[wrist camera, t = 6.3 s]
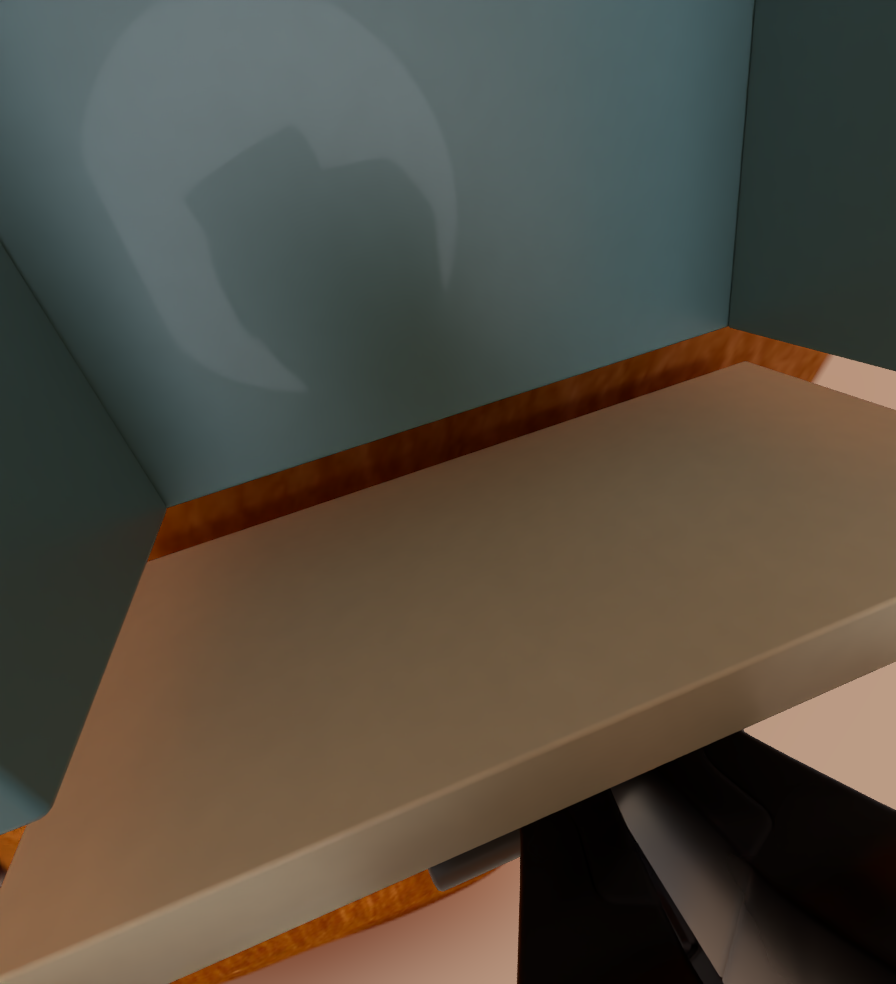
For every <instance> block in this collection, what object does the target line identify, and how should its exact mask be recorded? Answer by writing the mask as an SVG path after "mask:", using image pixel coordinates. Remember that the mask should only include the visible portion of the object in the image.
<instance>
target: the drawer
mask: <svg viewBox="0 0 896 984" xmlns="http://www.w3.org/2000/svg"><path fill="white" fill-rule="evenodd" d="M727 326H729V327H730V328H733V329H737V330H741V331H745V332H749V333H752V334H756V335H760V336H764V337H768V338H771V339H775V340H779V341H783V342H787V343H790V344H794V345H798V346H802V347H806V348H809V349H813V350H817V351H821V352H825V353H828V354H832V355H836V356H840V357H844V358H847V359H851V360H855V361H859V362H863V363H867V364H870V365H874V366H878V367H882V368H885V369H889V370H893V371H896V0H0V835H1V834H4V833H6V832H9V831H12V830H14V829H17V828H19V827H22V826H24V825H27V826H26V828H25V831H24V833H23V835H22V838H21V840H20V843H19V845H18V847H17V850H16V852H15V855H14V857H13V859H12V862H11V864H10V867H9V869H8V871H7V874H6V876H5V879H4V881H3V884H2V886H1V888H0V984H169V983H171V982H173V981H175V980H178V979H180V978H182V977H184V976H187V975H189V974H191V973H193V972H196V971H198V970H200V969H202V968H205V967H207V966H209V965H212V964H214V963H216V962H218V961H221V960H223V959H225V958H227V957H230V956H232V955H234V954H236V953H239V952H241V951H243V950H245V949H248V948H250V947H252V946H254V945H257V944H259V943H261V942H263V941H266V940H268V939H270V938H272V937H275V936H277V935H279V934H281V933H284V932H286V931H288V930H291V929H293V928H295V927H297V926H300V925H302V924H304V923H306V922H309V921H311V920H313V919H315V918H318V917H320V916H322V915H324V914H327V913H329V912H331V911H333V910H336V909H338V908H340V907H342V906H345V905H347V904H349V903H351V902H354V901H356V900H358V899H361V898H363V897H365V896H367V895H370V894H372V893H374V892H376V891H379V890H381V889H383V888H385V887H388V886H390V885H392V884H394V883H397V882H399V881H401V880H403V879H406V878H408V877H410V876H412V875H415V874H417V873H419V872H421V871H424V870H426V869H428V870H429V873H430V876H431V878H432V880H433V883H434V884H435V886H436V888H437V889H438V890H439V891H445V890H447V889H450V888H452V887H454V886H456V885H459V884H461V883H463V882H465V881H467V880H470V879H472V878H474V877H476V876H478V875H481V874H483V873H485V872H487V871H490V870H492V869H494V868H496V867H498V866H501V865H503V864H505V863H507V862H510V861H512V860H514V859H516V858H518V857H520V829H519V828H521V827H523V826H525V825H528V824H530V823H532V822H534V821H537V820H539V819H541V818H543V817H546V816H548V815H550V814H552V813H555V812H557V811H559V810H561V809H564V808H566V807H568V806H570V805H573V804H575V803H577V802H579V801H582V800H584V799H586V798H589V797H591V796H593V795H595V794H598V793H600V792H602V791H604V790H607V789H609V788H611V787H613V786H616V785H618V784H620V783H622V782H625V781H627V780H629V779H631V778H634V777H636V776H638V775H640V774H643V773H645V772H647V771H649V770H652V769H654V768H656V767H659V766H661V765H663V764H665V763H668V762H670V761H672V760H674V759H677V758H679V757H681V756H683V755H686V754H688V753H690V752H692V751H695V750H697V749H699V748H701V747H704V746H706V745H708V744H710V743H713V742H715V741H717V740H719V739H722V738H724V737H726V736H728V735H731V734H733V733H735V732H738V731H740V730H742V731H744V730H743V729H744V728H746V727H749V726H751V725H753V724H755V723H758V722H760V721H762V720H765V719H767V718H769V717H771V716H774V715H776V714H778V713H780V712H783V711H785V710H787V709H789V708H792V707H794V706H796V705H798V704H801V703H803V702H805V701H807V700H810V699H812V698H814V697H816V696H819V695H821V694H823V693H825V692H828V691H830V690H832V689H834V688H837V687H839V686H841V685H844V684H846V683H848V682H850V681H853V680H855V679H857V678H859V677H862V676H864V675H866V674H868V673H871V672H873V671H875V670H877V669H880V668H882V667H884V666H887V665H889V664H891V663H893V662H896V410H894V409H891V408H887V407H884V406H881V405H878V404H875V403H872V402H869V401H866V400H863V399H859V398H857V397H853V396H851V395H847V394H845V393H842V392H838V391H835V390H832V389H829V388H826V387H823V386H820V385H817V384H814V383H811V382H808V381H805V380H802V379H799V378H796V377H793V376H790V375H786V374H783V373H780V372H777V371H774V370H771V369H768V368H765V367H762V366H759V365H756V364H753V363H750V362H746V361H745V362H741V363H738V364H735V365H732V366H729V367H726V368H723V369H720V370H717V371H714V372H711V373H708V374H705V375H702V376H699V377H696V378H694V379H691V380H688V381H685V382H682V383H679V384H676V385H673V386H670V387H667V388H664V389H661V390H658V391H655V392H652V393H649V394H646V395H643V396H640V397H637V398H634V399H631V400H628V401H625V402H622V403H619V404H616V405H613V406H610V407H607V408H604V409H601V410H598V411H595V412H592V413H589V414H586V415H583V416H580V417H577V418H574V419H571V420H568V421H565V422H562V423H559V424H557V425H554V426H551V427H548V428H545V429H542V430H539V431H536V432H533V433H530V434H527V435H524V436H521V437H518V438H515V439H512V440H509V441H506V442H503V443H500V444H497V445H494V446H491V447H488V448H485V449H482V450H479V451H476V452H473V453H470V454H467V455H464V456H461V457H458V458H455V459H452V460H449V461H446V462H443V463H440V464H437V465H434V466H431V467H428V468H425V469H422V470H420V471H417V472H414V473H411V474H408V475H405V476H402V477H399V478H396V479H393V480H390V481H387V482H384V483H381V484H378V485H375V486H372V487H369V488H366V489H363V490H360V491H357V492H354V493H351V494H348V495H345V496H342V497H339V498H336V499H333V500H330V501H327V502H324V503H321V504H318V505H315V506H312V507H309V508H306V509H303V510H300V511H297V512H294V513H291V514H288V515H285V516H283V517H280V518H277V519H274V520H271V521H268V522H265V523H262V524H259V525H256V526H253V527H250V528H247V529H244V530H241V531H238V532H235V533H232V534H229V535H226V536H223V537H220V538H217V539H214V540H211V541H208V542H205V543H202V544H199V545H196V546H193V547H190V548H187V549H184V550H181V551H178V552H175V553H172V554H169V555H166V556H163V557H160V558H157V559H154V560H151V561H148V562H147V560H148V558H149V555H150V552H151V550H152V547H153V545H154V542H155V539H156V537H157V534H158V532H159V529H160V526H161V524H162V521H163V519H164V516H165V513H166V508H169V507H172V506H175V505H178V504H181V503H184V502H187V501H190V500H193V499H196V498H199V497H202V496H206V495H209V494H212V493H215V492H218V491H221V490H224V489H227V488H230V487H233V486H236V485H240V484H243V483H246V482H249V481H252V480H255V479H258V478H261V477H264V476H267V475H270V474H273V473H277V472H280V471H283V470H286V469H289V468H292V467H295V466H298V465H301V464H304V463H307V462H311V461H314V460H317V459H320V458H323V457H326V456H329V455H332V454H335V453H338V452H341V451H344V450H348V449H351V448H354V447H357V446H360V445H363V444H366V443H369V442H372V441H375V440H378V439H382V438H385V437H388V436H391V435H394V434H397V433H400V432H403V431H406V430H409V429H412V428H415V427H419V426H422V425H425V424H428V423H431V422H434V421H437V420H440V419H443V418H446V417H449V416H453V415H456V414H459V413H462V412H465V411H468V410H471V409H474V408H477V407H480V406H483V405H486V404H490V403H493V402H496V401H499V400H502V399H505V398H508V397H511V396H514V395H517V394H520V393H524V392H527V391H530V390H533V389H536V388H539V387H542V386H545V385H548V384H551V383H554V382H557V381H561V380H564V379H567V378H570V377H573V376H576V375H579V374H582V373H585V372H588V371H591V370H595V369H598V368H601V367H604V366H607V365H610V364H613V363H616V362H619V361H622V360H625V359H628V358H632V357H635V356H638V355H641V354H644V353H647V352H650V351H653V350H656V349H659V348H662V347H666V346H669V345H672V344H675V343H678V342H681V341H684V340H687V339H690V338H693V337H696V336H699V335H703V334H706V333H709V332H712V331H715V330H718V329H721V328H724V327H727Z"/></svg>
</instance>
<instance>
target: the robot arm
mask: <svg viewBox="0 0 896 984" xmlns="http://www.w3.org/2000/svg"><path fill="white" fill-rule="evenodd" d="M519 829H520V903H519V935H518V936H519V937H518V966H517V967H518V969H517V984H896V810H894V809H892V808H890V807H888V806H886V805H884V804H882V803H880V802H878V801H876V800H874V799H872V798H870V797H868V796H866V795H864V794H862V793H860V792H858V791H856V790H854V789H852V788H850V787H848V786H846V785H844V784H842V783H840V782H839V781H836V780H835V779H833V778H831V777H829V776H827V775H825V774H823V773H821V772H819V771H817V770H815V769H813V768H811V767H809V766H807V765H805V764H803V763H801V762H799V761H797V760H795V759H793V758H791V757H789V756H788V755H786V754H784V753H782V752H780V751H778V750H776V749H774V748H772V747H771V746H769V745H767V744H765V743H763V742H761V741H760V740H758V739H755V738H754V737H752V736H750V735H748V734H747V733H745V732H744V731H742V730H740V731H738V732H735V733H733V734H731V735H728V736H726V737H724V738H722V739H719V740H717V741H715V742H713V743H710V744H708V745H706V746H704V747H701V748H699V749H697V750H695V751H692V752H690V753H688V754H686V755H683V756H681V757H679V758H677V759H674V760H672V761H670V762H668V763H665V764H663V765H661V766H659V767H656V768H654V769H652V770H649V771H647V772H645V773H643V774H640V775H638V776H636V777H634V778H631V779H629V780H627V781H625V782H622V783H620V784H618V785H616V786H613V787H611V788H609V789H607V790H604V791H602V792H600V793H598V794H595V795H593V796H591V797H589V798H586V799H584V800H582V801H579V802H577V803H575V804H573V805H570V806H568V807H566V808H564V809H561V810H559V811H557V812H555V813H552V814H550V815H548V816H546V817H543V818H541V819H539V820H537V821H534V822H532V823H530V824H528V825H525V826H523V827H521V828H519Z"/></svg>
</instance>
